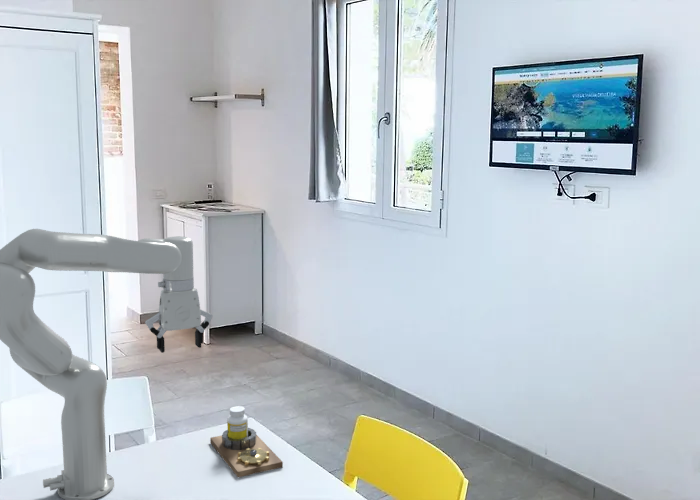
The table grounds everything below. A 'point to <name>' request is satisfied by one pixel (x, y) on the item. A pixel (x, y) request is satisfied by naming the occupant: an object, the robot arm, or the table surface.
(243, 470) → the gear board
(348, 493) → the table surface
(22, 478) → the table surface
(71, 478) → the robot arm
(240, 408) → the supplement bottle
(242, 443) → the socket ring
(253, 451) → the brass gear
